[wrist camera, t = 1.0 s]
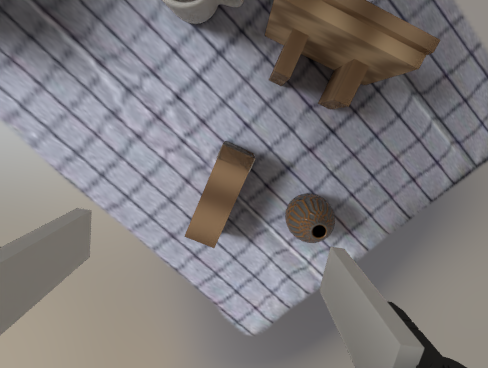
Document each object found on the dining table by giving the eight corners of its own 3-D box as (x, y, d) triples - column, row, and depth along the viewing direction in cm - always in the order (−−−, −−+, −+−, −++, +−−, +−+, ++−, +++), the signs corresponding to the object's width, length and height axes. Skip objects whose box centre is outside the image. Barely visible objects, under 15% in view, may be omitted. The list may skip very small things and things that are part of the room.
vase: (319, 232, 43) (338, 259, 35) (278, 226, 43) (287, 252, 35) (329, 192, 42) (352, 211, 33) (287, 185, 42) (299, 202, 33)
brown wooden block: (218, 231, 43) (214, 248, 37) (191, 220, 43) (183, 236, 37) (253, 153, 40) (255, 158, 35) (225, 140, 40) (222, 144, 34)
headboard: (249, 71, 38) (254, 45, 25) (272, 16, 36) (289, -41, 23) (347, 117, 39) (398, 115, 27) (373, 67, 38) (440, 40, 25)
